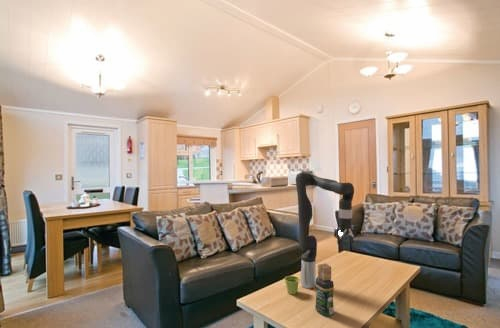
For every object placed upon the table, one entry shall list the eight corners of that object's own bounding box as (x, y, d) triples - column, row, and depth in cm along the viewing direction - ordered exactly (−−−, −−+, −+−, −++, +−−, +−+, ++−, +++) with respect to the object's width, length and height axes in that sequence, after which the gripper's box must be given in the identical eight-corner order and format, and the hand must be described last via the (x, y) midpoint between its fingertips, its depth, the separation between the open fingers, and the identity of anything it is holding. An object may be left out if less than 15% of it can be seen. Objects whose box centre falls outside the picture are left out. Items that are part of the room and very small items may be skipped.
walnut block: (318, 277, 150) (318, 264, 150) (325, 275, 152) (325, 263, 152) (323, 280, 146) (323, 267, 146) (331, 279, 147) (331, 266, 147)
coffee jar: (312, 309, 151) (312, 276, 151) (323, 305, 155) (323, 273, 155) (325, 318, 143) (325, 283, 143) (336, 314, 147) (336, 280, 147)
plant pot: (292, 297, 165) (292, 283, 165) (281, 291, 172) (281, 278, 172) (302, 293, 170) (302, 279, 170) (292, 287, 178) (292, 274, 178)
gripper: (350, 214, 165) (350, 241, 165) (331, 216, 160) (331, 243, 160) (359, 216, 158) (359, 244, 158) (339, 218, 153) (339, 247, 153)
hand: (345, 244), depth 159 cm, fingers open, 8 cm apart
